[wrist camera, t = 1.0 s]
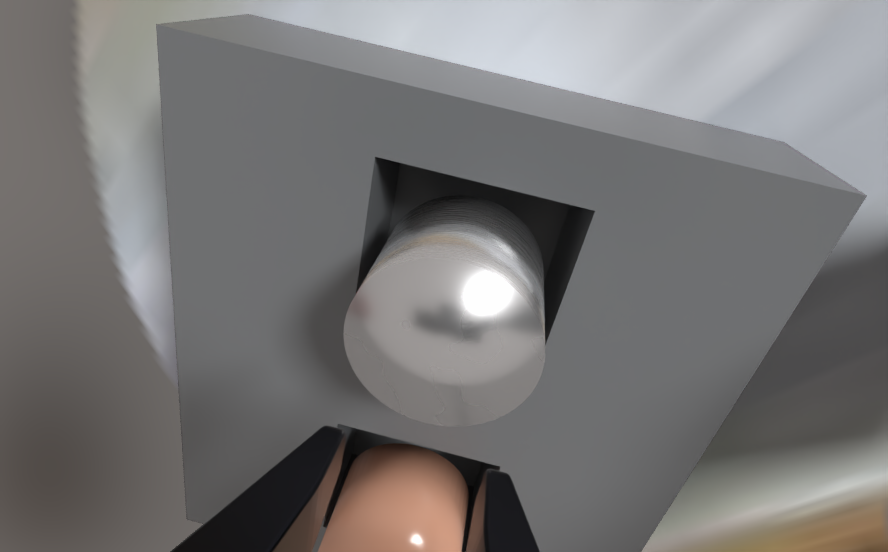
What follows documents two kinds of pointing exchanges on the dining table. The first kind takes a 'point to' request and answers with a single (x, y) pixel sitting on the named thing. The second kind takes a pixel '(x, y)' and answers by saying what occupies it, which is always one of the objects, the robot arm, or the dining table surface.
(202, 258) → the block
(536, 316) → the grey plunger
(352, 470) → the terracotta plunger
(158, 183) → the dining table surface
